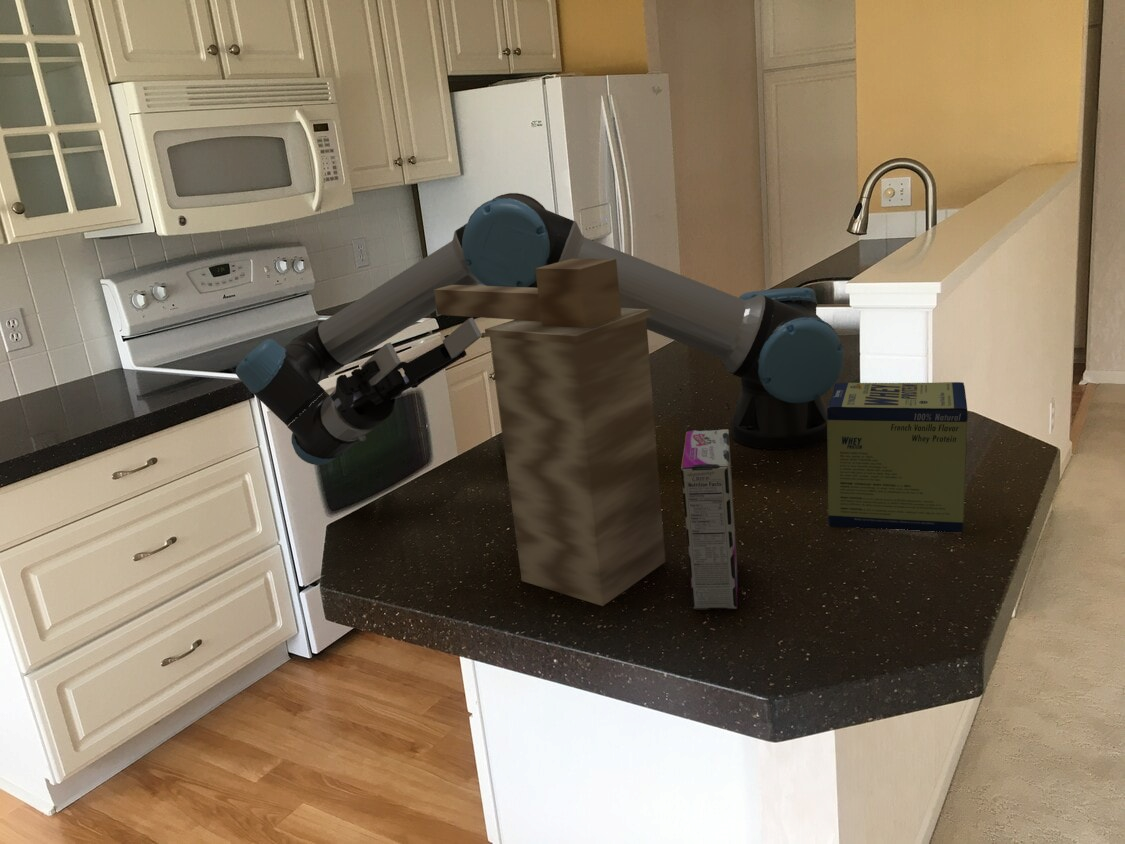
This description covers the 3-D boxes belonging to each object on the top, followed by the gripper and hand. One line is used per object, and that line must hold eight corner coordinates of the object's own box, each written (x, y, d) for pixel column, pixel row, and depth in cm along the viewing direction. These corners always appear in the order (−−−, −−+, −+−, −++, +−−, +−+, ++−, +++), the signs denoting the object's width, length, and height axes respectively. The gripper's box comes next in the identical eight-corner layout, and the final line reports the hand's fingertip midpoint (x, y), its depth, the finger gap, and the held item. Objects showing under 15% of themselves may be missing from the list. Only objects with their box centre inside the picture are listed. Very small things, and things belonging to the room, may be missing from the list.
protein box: (965, 535, 108) (969, 407, 103) (826, 528, 113) (824, 406, 109) (962, 499, 117) (965, 380, 112) (834, 495, 123) (832, 381, 118)
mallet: (428, 317, 110) (420, 266, 108) (464, 306, 114) (457, 257, 112) (585, 328, 94) (579, 269, 93) (621, 315, 99) (616, 258, 97)
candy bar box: (694, 563, 108) (684, 429, 103) (737, 562, 107) (730, 427, 102) (689, 611, 98) (679, 465, 93) (738, 611, 97) (730, 463, 92)
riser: (518, 581, 108) (484, 329, 99) (585, 539, 117) (560, 305, 108) (603, 608, 100) (575, 336, 91) (669, 561, 109) (649, 309, 100)
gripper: (437, 404, 138) (518, 342, 123) (295, 458, 121) (370, 393, 106) (414, 360, 139) (492, 293, 124) (269, 407, 121) (339, 336, 106)
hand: (436, 339), depth 115 cm, fingers open, 13 cm apart
